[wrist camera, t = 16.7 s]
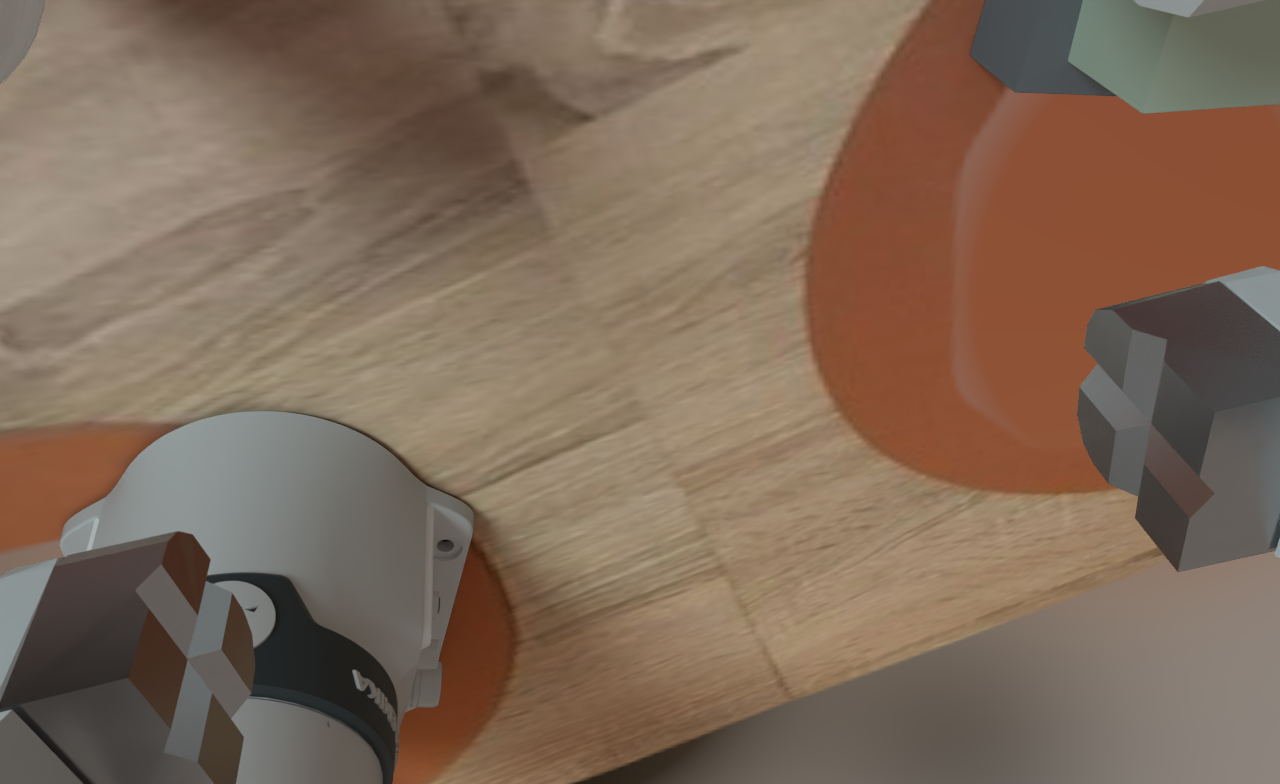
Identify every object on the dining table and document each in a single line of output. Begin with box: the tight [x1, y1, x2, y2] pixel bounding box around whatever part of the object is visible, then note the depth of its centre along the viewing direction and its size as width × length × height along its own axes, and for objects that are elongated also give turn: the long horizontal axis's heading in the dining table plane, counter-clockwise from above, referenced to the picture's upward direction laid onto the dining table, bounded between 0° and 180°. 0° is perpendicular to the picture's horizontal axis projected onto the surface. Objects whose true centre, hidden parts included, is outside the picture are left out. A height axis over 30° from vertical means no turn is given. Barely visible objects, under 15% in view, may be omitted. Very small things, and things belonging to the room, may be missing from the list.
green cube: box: [1068, 0, 1280, 114], centre depth 34 cm, size 5×5×5 cm
